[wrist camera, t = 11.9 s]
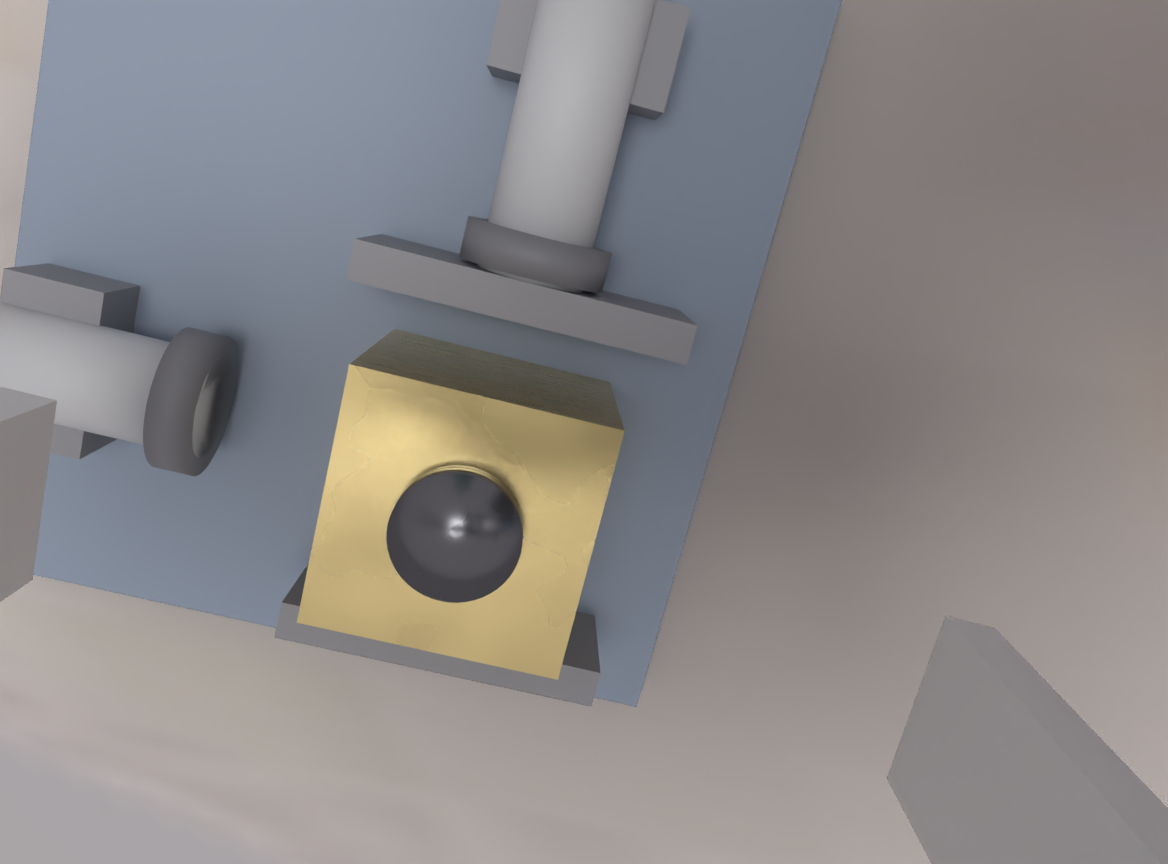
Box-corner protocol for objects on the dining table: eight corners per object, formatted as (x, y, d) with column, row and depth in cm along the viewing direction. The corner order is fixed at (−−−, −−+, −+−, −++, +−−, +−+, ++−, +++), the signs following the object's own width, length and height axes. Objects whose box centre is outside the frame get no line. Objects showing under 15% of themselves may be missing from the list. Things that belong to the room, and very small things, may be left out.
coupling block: (350, 534, 23) (288, 636, 18) (394, 329, 22) (341, 369, 17) (557, 582, 24) (557, 694, 18) (609, 381, 23) (627, 438, 17)
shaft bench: (104, -204, 21) (-16, -312, 16) (829, 3, 22) (896, -47, 18) (4, 545, 24) (-117, 620, 20) (632, 683, 26) (648, 783, 21)
